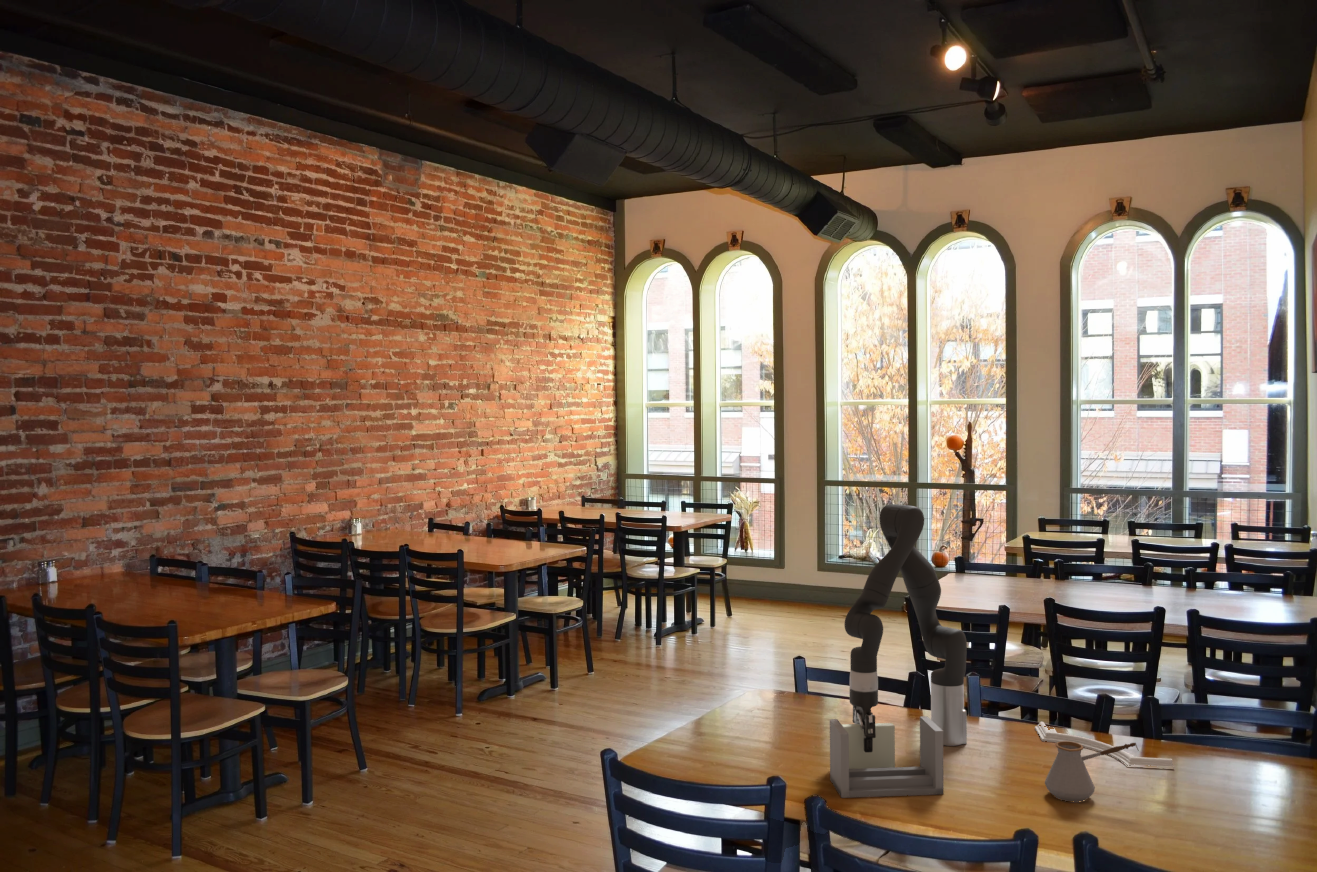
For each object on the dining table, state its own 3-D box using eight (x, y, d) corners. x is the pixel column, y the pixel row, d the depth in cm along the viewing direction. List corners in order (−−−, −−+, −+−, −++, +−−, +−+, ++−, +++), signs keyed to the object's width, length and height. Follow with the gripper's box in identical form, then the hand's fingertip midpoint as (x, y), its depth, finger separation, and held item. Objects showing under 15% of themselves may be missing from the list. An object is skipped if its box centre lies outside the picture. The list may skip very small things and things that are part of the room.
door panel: (892, 766, 264) (892, 722, 264) (896, 771, 261) (895, 726, 261) (834, 768, 263) (833, 724, 263) (837, 773, 260) (836, 728, 260)
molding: (1181, 769, 261) (1181, 758, 261) (1156, 778, 255) (1156, 767, 255) (1042, 728, 297) (1042, 718, 297) (1017, 735, 290) (1017, 725, 290)
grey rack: (927, 776, 256) (927, 716, 256) (943, 794, 244) (943, 730, 244) (830, 779, 255) (829, 719, 255) (841, 797, 243) (840, 733, 243)
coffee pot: (1045, 802, 239) (1045, 741, 238) (1043, 785, 249) (1043, 727, 249) (1142, 813, 231) (1141, 750, 231) (1136, 795, 242) (1135, 735, 242)
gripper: (885, 693, 255) (885, 755, 255) (870, 679, 269) (870, 737, 270) (856, 694, 255) (856, 755, 255) (843, 679, 269) (843, 738, 269)
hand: (863, 746), depth 262 cm, fingers open, 8 cm apart
